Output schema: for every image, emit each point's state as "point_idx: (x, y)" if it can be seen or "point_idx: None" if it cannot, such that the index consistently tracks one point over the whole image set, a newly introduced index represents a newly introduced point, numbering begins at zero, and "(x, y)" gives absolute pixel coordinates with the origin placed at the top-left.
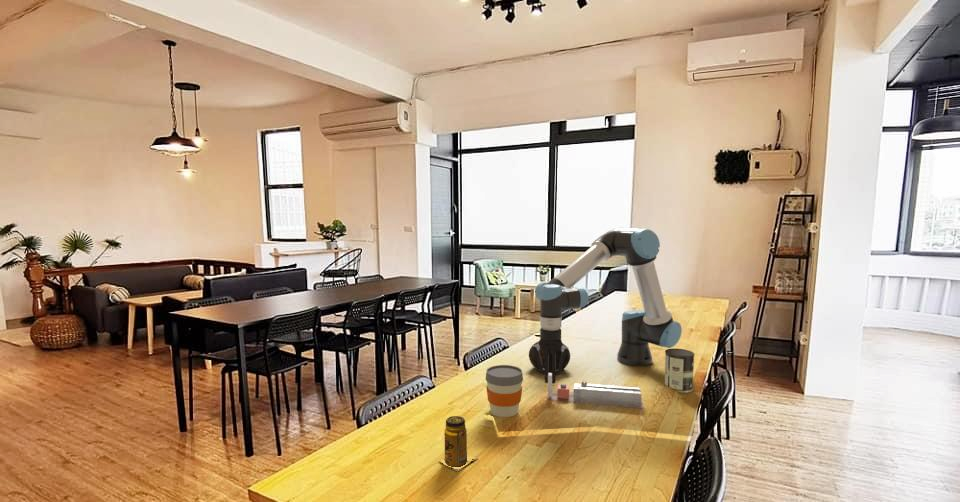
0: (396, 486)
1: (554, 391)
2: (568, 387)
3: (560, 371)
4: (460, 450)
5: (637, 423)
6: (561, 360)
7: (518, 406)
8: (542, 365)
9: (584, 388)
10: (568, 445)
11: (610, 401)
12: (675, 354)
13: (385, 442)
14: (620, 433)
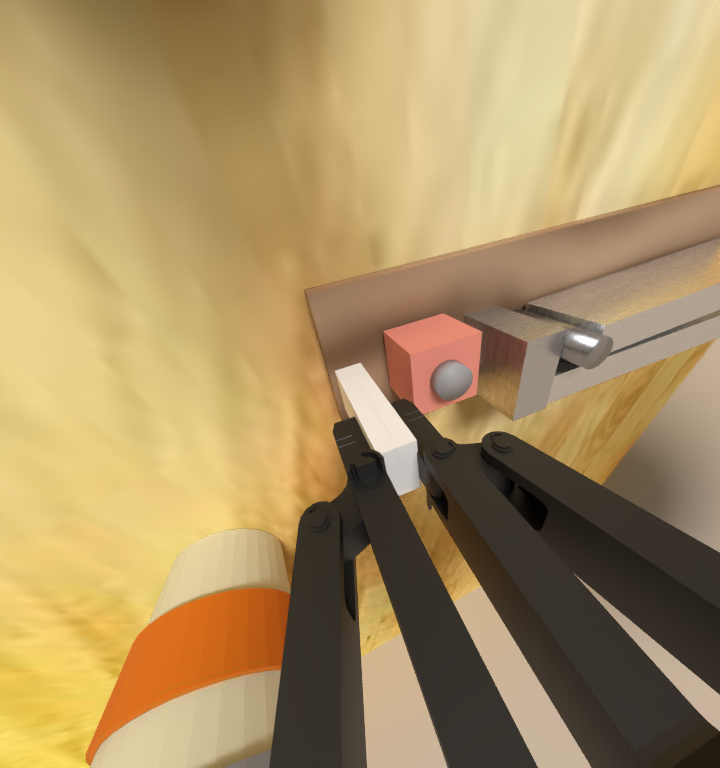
0: None
1: (349, 294)
2: (476, 370)
3: (516, 492)
4: None
5: (613, 386)
6: (660, 625)
7: (287, 579)
8: (341, 579)
9: (566, 389)
10: (444, 546)
11: None
12: None
13: (73, 757)
14: (554, 454)
